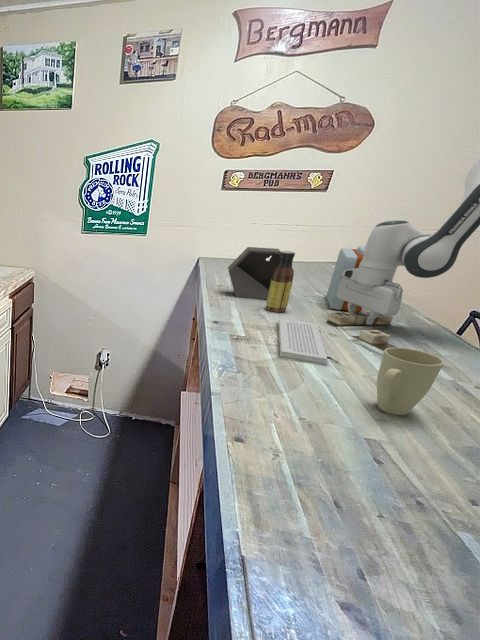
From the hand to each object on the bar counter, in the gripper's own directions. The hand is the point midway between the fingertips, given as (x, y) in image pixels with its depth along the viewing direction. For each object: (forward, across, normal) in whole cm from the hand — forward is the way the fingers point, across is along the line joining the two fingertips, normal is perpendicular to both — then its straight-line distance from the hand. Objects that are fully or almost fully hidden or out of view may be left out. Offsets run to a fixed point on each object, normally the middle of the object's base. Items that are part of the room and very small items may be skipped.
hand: (359, 320), depth 142 cm
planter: (+2, +34, +15) cm, 37 cm away
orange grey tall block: (+2, +21, -11) cm, 24 cm away
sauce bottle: (+2, +16, +17) cm, 23 cm away
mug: (+2, -52, +35) cm, 63 cm away
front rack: (+1, -20, +9) cm, 22 cm away
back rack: (+1, 0, 0) cm, 1 cm away
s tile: (0, 0, 0) cm, 0 cm away
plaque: (+2, -13, +28) cm, 31 cm away
